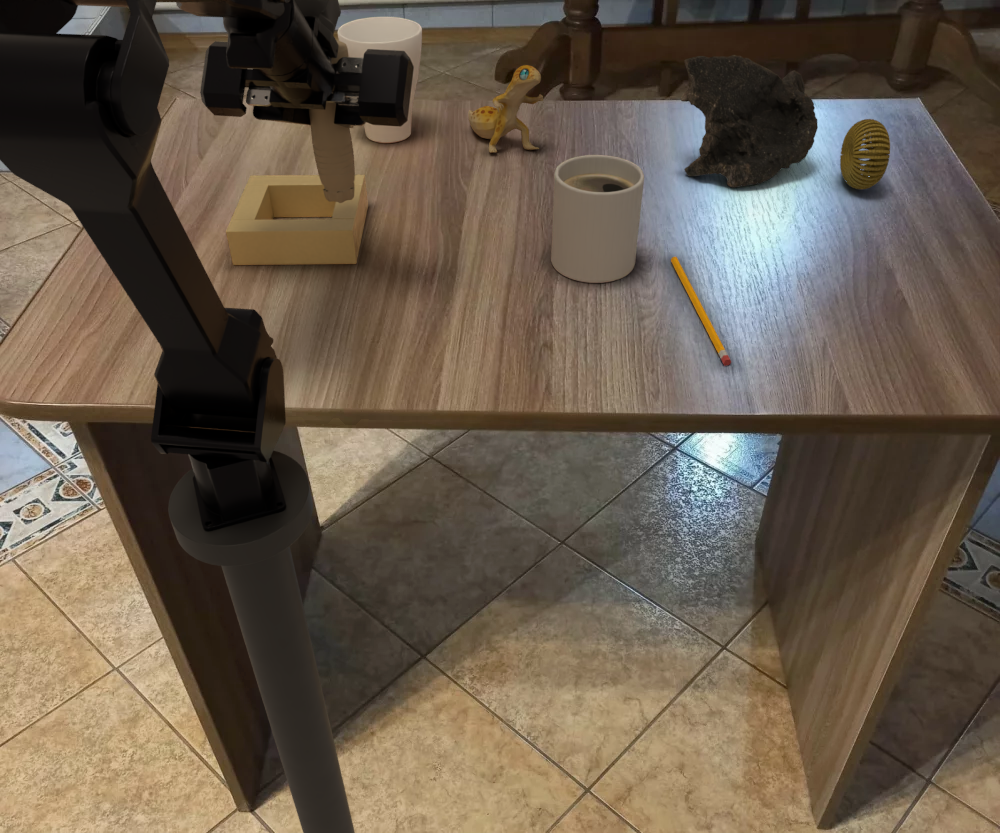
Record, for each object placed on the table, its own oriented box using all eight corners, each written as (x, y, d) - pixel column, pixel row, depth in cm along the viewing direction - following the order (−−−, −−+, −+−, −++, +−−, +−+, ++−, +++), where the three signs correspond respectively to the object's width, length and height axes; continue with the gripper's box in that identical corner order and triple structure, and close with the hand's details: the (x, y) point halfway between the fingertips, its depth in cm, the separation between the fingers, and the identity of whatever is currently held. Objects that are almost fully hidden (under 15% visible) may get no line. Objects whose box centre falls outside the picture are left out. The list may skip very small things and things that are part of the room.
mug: (624, 289, 91) (634, 199, 85) (534, 274, 94) (537, 184, 87) (646, 239, 99) (656, 152, 93) (562, 226, 101) (566, 140, 95)
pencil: (722, 366, 82) (723, 359, 81) (669, 262, 95) (670, 256, 95) (731, 365, 82) (732, 359, 81) (677, 262, 95) (678, 256, 95)
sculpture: (882, 201, 106) (902, 135, 101) (848, 201, 106) (866, 135, 101) (862, 171, 112) (880, 108, 107) (830, 171, 112) (846, 108, 107)
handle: (335, 214, 90) (311, 58, 81) (304, 194, 94) (278, 44, 85) (376, 200, 92) (357, 47, 83) (344, 182, 96) (323, 34, 87)
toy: (524, 149, 109) (518, 62, 107) (448, 156, 121) (441, 77, 118) (562, 147, 113) (558, 62, 111) (486, 154, 125) (480, 77, 122)
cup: (443, 130, 122) (439, 26, 113) (392, 157, 115) (383, 49, 106) (385, 112, 126) (376, 11, 118) (332, 137, 120) (319, 32, 111)
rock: (783, 190, 120) (797, 69, 116) (819, 191, 107) (836, 56, 104) (658, 185, 119) (667, 63, 115) (680, 185, 107) (691, 49, 103)
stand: (356, 264, 95) (352, 230, 93) (232, 265, 95) (225, 231, 92) (368, 206, 105) (364, 174, 102) (256, 207, 105) (250, 175, 102)
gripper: (401, -47, 74) (435, 49, 89) (184, -55, 76) (254, 40, 91) (385, 84, 73) (422, 158, 88) (166, 72, 75) (240, 146, 90)
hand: (333, 122), depth 89 cm, fingers closed on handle, 3 cm apart
